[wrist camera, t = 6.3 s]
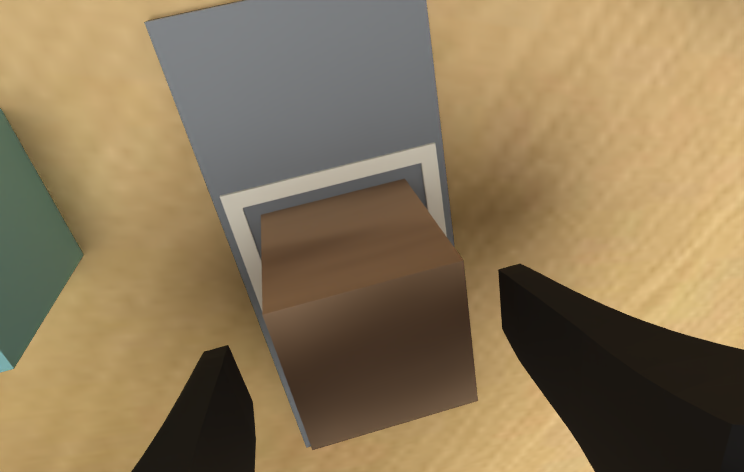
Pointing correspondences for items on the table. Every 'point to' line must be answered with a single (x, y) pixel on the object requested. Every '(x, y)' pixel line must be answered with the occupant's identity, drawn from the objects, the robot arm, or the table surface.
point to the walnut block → (366, 311)
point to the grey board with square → (304, 111)
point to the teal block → (28, 249)
